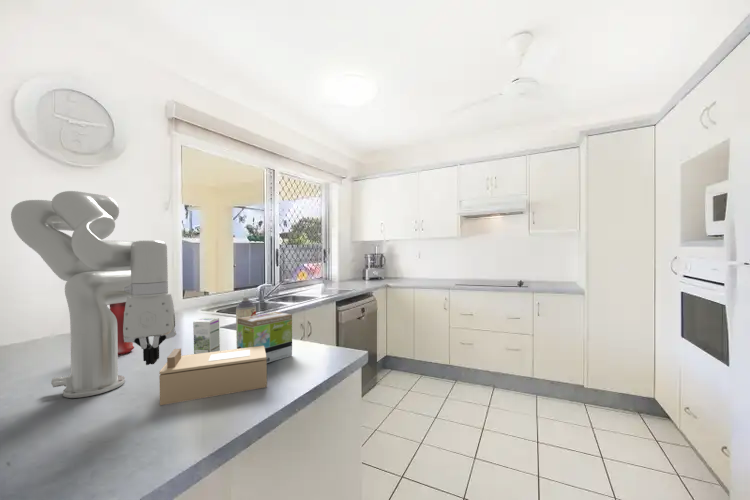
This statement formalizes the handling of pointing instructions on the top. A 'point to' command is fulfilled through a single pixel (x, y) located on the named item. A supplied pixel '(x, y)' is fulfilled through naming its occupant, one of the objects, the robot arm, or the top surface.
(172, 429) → the top surface
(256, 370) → the mailer box
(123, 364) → the top surface
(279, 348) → the tea box
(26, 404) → the top surface
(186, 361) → the mailer lid
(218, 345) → the syrup box
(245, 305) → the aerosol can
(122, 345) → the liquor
